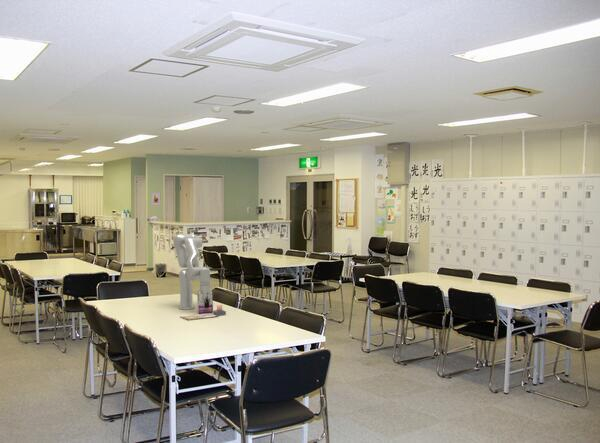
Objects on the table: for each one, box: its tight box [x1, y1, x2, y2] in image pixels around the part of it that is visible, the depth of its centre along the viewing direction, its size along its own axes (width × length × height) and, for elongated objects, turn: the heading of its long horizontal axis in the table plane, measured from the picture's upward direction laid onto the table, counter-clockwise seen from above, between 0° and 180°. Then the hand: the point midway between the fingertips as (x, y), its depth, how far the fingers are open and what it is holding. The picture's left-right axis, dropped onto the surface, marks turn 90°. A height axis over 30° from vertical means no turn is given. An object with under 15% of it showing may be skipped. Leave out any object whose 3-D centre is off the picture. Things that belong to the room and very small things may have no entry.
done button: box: [216, 304, 223, 312], centre depth 419 cm, size 4×4×5 cm
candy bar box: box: [196, 290, 214, 314], centre depth 425 cm, size 11×5×16 cm, turn 112°
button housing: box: [212, 309, 227, 317], centre depth 419 cm, size 7×7×3 cm
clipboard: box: [179, 313, 219, 322], centre depth 410 cm, size 15×24×1 cm, turn 123°
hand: (205, 306), depth 425 cm, fingers open, 6 cm apart
